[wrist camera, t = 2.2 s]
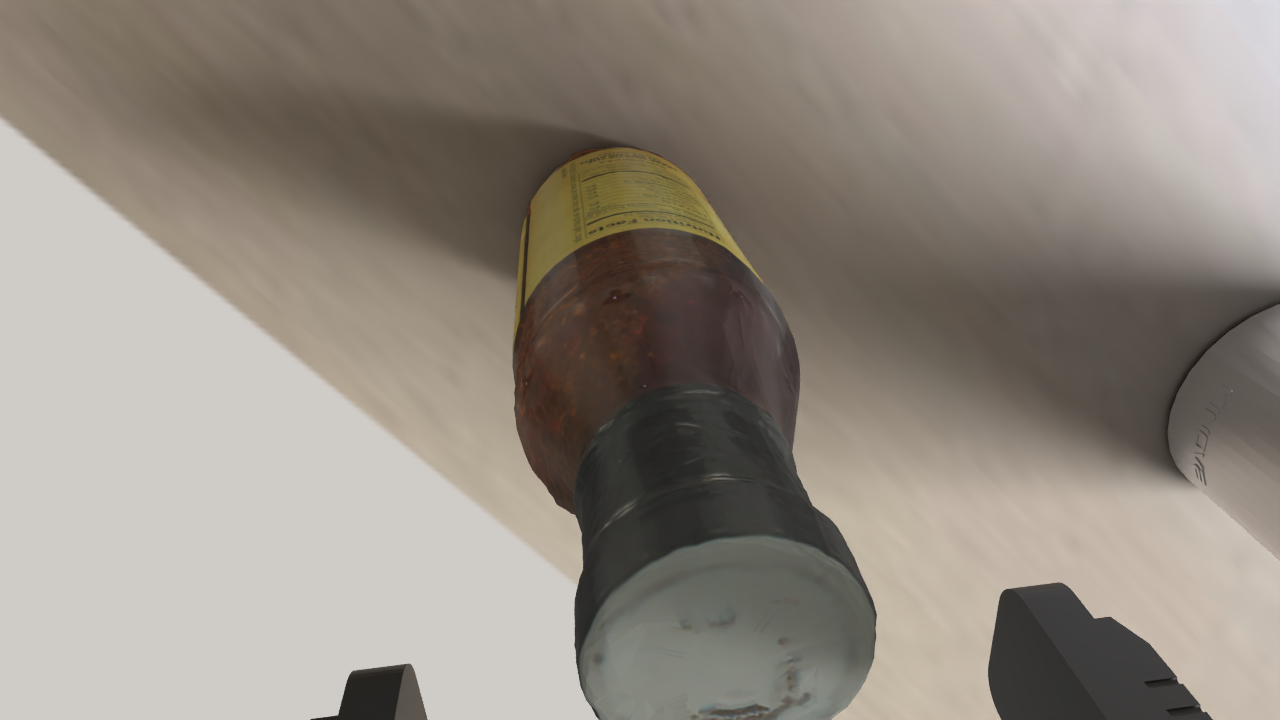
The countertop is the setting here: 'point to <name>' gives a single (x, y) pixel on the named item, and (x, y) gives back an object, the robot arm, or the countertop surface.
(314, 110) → the countertop surface
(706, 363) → the sauce bottle
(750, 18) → the countertop surface
